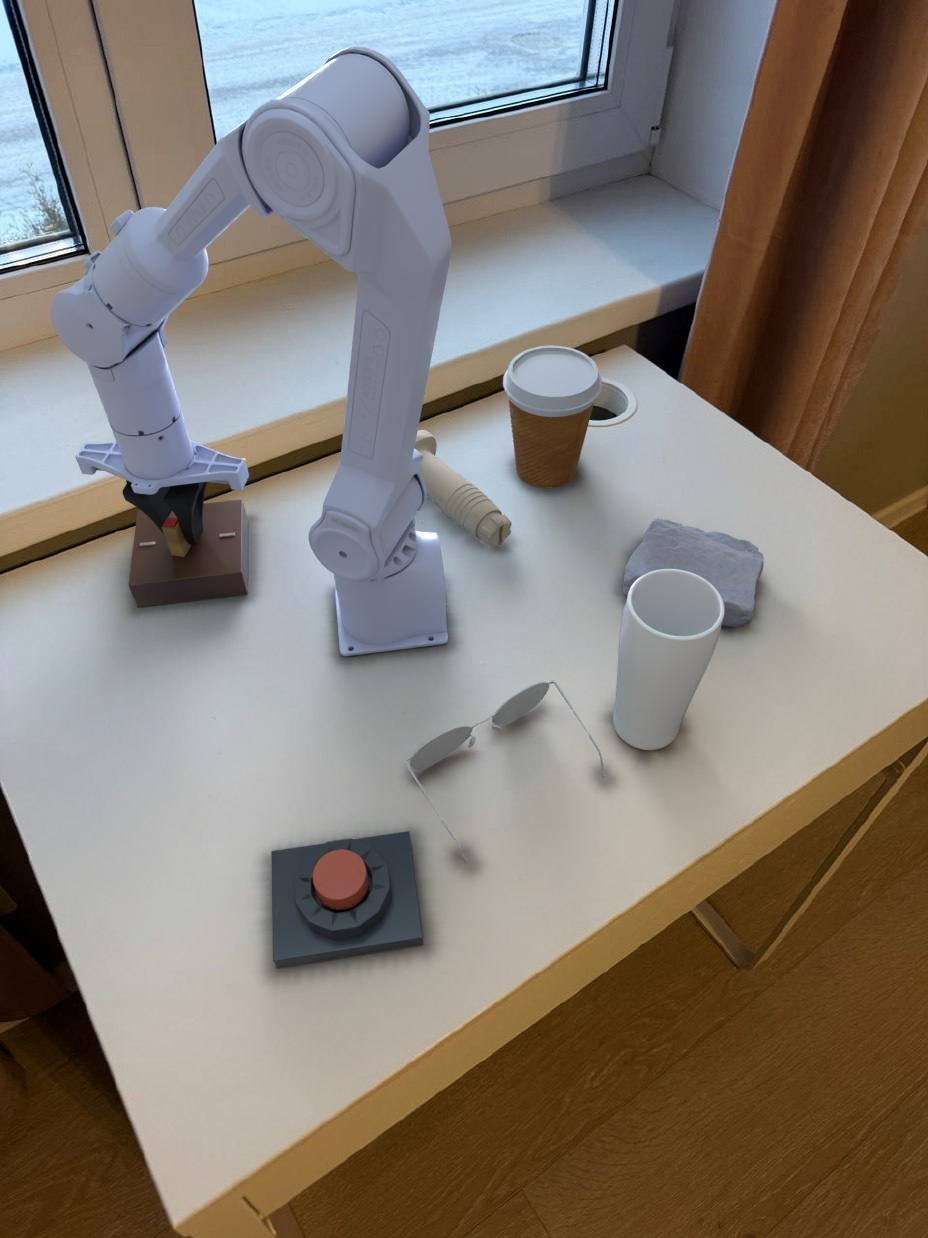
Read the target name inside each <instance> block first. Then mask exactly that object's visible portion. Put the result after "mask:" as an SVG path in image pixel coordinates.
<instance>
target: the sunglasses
mask: <svg viewBox="0 0 928 1238" xmlns="http://www.w3.org/2000/svg"><path fill="white" fill-rule="evenodd" d="M551 684H553V685H554V686H555V687H556V688H557V690H558V692H559V693H560V695H561V697H563V700H564V701H565V702H566V703H567V705H568V706H569V708H570V710H571V711H572V713H573V714H574V715H575V717H576V718H577V720H578V722H579V723H580V725H581V726H582V728H583V729H584V730H585V732H586V733H587V735H588V738H589V740H591V742H592V744H593V746H594V747H595V749H596V751H597V752H598V755H599V760H600V767H601V769H600V770H601V776H602V779H604V780H606V775H605V774H606V772H605V768H604V761H603V755H602V752H601V750H600V748H599V746H598V744H597V743H596V741H595V740H594V738H593V736H592V735H591V734H590V733H589V732H588V730H587V728H586V727H585V726H584V723H583V722H582V720H581V718H580V717H579V716H578V714H577V712H576V711H575V709H574V708H573V706H572V704H571V703H570V701H569V700H568V698H567V696H566V695H565V693H564V692H563V690H562V688H561V687H560V685H559V684H558V683H557V681H555V680H553V679H552V680H550V681H539V682H536V683H533V684H531V685H529V686H527V687H524V688H523V689H521V690H520V691H517V692H516V693H515V694H513V695H512V696H510V697H509V698H508V699H506V700H505V701H504V702H503V703H502V704H501V705H500V706H499V707H498V708H497V709H496V711H495V712H494V713H493V714H491V715H489V716H488V717H486V718H485V719H483V720H481V721H478V722H476V723H474V724H473V725H471V726H470V725H468V724H467V725H458V726H455V727H451V728H450V729H447V730H445V731H443V732H440V733H439V734H437V735H435V736H433V737H432V738H430V739H428V740H427V741H425V743H423V744H422V745H421V746H419V748H417V749H416V750H415V752H414V753H413V754H412V755H409V756H408V757H406V758H405V759H404V766H405V767H406V769H407V771H408V772H409V773H410V775H411V776H412V778H413V780H414V781H415V782H416V784H417V785H418V787H419V789H420V790H421V792H422V793H423V795H424V796H425V798H426V799H427V800H428V802H429V803H430V804H431V807H432V808H433V809H434V811H435V812H436V814H437V815H438V817H439V818H440V820H441V823H442V824H443V826H444V827H445V829H446V830H447V831H448V833H449V835H450V836H451V838H452V839H453V841H454V842H455V843H456V845H457V846H458V849H459V850H460V852H461V855H462V857H463V859H464V860H465V861H466V862H468V860H467V858H466V856H465V854H464V851H463V850H462V848H461V846H460V843H459V842H458V840H457V838H456V837H455V835H454V834H453V832H452V831H451V829H450V828H449V827H448V825H447V823H446V821H445V820H444V819H443V818H442V817H441V815H440V813H439V812H438V810H437V808H436V807H435V805H434V804H433V801H431V799H430V797H429V796H428V793H427V792H426V790H425V788H423V786H422V784H421V783H420V781H419V780H418V778H417V777H416V775H415V772H413V770H414V771H421V770H425V769H427V768H429V767H432V766H434V765H435V764H438V763H439V762H441V761H442V760H444V759H445V758H447V757H449V756H450V755H451V754H452V753H454V752H455V751H456V750H457V749H458V748H460V747H461V746H462V745H463V744H464V743H466V741H467V740H468V739H469V743H468V745H467V748H468V749H471V748H472V747H473V746H474V745H475V743H476V741H477V738H478V735H477V734H475V735H474V736H473V735H472V733H473V728H475V727H477V726H479V725H481V724H484V723H485V722H487V721H489V720H490V719H491V722H492V723H491V724H493V725H491V729H493V730H494V731H497V732H501V731H502V727H501V726H503V725H507V724H509V723H511V722H514V721H516V720H519V719H520V718H521V717H523V716H525V715H526V714H527V713H529V712H531V711H532V710H533V709H534V708H535V707H537V706H538V705H539V704H540V703H541V701H542V700H543V699H544V698H545V696H546V695H547V693H548V691H549V689H550V685H551ZM470 737H471V738H470ZM408 762H409V763H408Z"/></svg>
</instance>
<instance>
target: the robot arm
mask: <svg viewBox="0 0 928 1238" xmlns="http://www.w3.org/2000/svg"><path fill="white" fill-rule="evenodd" d="M430 118H431V114H430V111H429V110H428V108H427V107H426V105H425V104H424V103H423V101H422V100H421V98H420V97H419V96H418V95H417V92H416V91H415V89H414V88H413V87H412V86H411V84H410V83H409V81H408V80H407V78H406V77H405V76H404V74H403V73H402V72H401V71H400V69H399V68H398V67H397V66H396V64H394V63H393V62H392V60H390V59H389V58H388V57H386V56H385V55H384V54H382V53H381V52H379V51H377V50H375V49H371V48H369V47H365V46H364V47H363V46H349V47H346V48H345V47H344V48H342V49H341V50H338V51H337V52H335V53H334V54H333V55H331V56H330V57H328V58H327V59H326V61H325V63H324V64H323V66H322V67H320V68H319V69H317V70H316V71H314V72H313V73H311V74H310V75H308V76H307V77H306V78H304V79H303V80H301V81H299V82H298V83H297V84H295V85H294V86H292V87H291V88H289V89H288V90H287V91H285V92H284V93H282V94H281V95H279V96H278V97H277V98H275V99H273V98H272V99H269V100H268V101H266V102H265V103H263V104H261V105H260V106H258V107H257V108H256V109H255V110H254V111H253V112H252V114H251V115H250V116H249V118H246V120H244V121H243V122H241V123H240V124H238V125H237V126H236V127H234V128H233V129H231V130H230V131H229V132H228V133H226V134H224V135H223V136H222V137H220V138H219V139H218V141H217V142H216V144H215V145H214V146H213V147H212V149H211V150H210V151H209V152H208V154H207V155H206V157H204V159H203V160H202V161H201V163H200V164H199V165H198V167H197V168H196V170H195V171H194V173H193V174H192V175H191V176H190V177H189V178H188V180H187V182H186V183H185V184H183V185H184V186H182V188H181V189H180V190H179V192H178V193H177V194H176V196H175V197H174V198H173V200H172V201H171V202H170V204H169V205H168V206H167V207H166V208H163V207H157V206H150V207H144V208H141V209H139V210H137V211H135V212H133V210H131V209H126V210H125V211H124V212H123V213H121V214H120V215H118V216H117V217H116V218H115V219H114V220H113V222H112V223H111V224H110V225H109V230H110V231H111V232H112V233H113V235H115V236H114V237H113V238H112V239H111V241H110V242H109V243H108V245H107V246H106V247H105V248H104V250H103V251H100V250H96V251H94V252H92V254H90V255H89V256H87V257H86V259H85V260H84V261H83V268H84V269H85V270H86V273H85V275H84V276H83V277H81V278H80V279H78V280H77V281H76V282H75V283H74V284H72V285H71V286H70V287H68V288H64V289H62V290H59V291H57V292H56V293H55V294H54V296H53V302H52V303H51V306H50V310H49V311H50V312H49V313H50V320H51V323H52V327H53V328H54V331H55V333H56V334H57V336H58V338H59V339H60V340H61V342H62V343H63V344H64V346H65V347H66V348H67V349H68V350H69V351H70V352H71V353H72V354H73V355H75V357H77V358H78V359H80V360H81V361H83V362H85V363H86V365H87V369H88V371H89V374H90V376H91V378H92V382H93V385H94V387H95V389H96V392H97V394H98V395H97V396H98V397H99V400H100V402H101V405H102V407H103V410H104V412H105V416H106V418H107V421H108V424H109V426H110V428H111V429H110V430H111V431H112V434H113V437H114V440H115V441H110V442H97V443H95V442H85V443H83V445H82V446H81V448H80V449H79V451H78V452H77V453H76V455H75V460H76V463H77V464H78V467H79V470H80V473H81V474H82V475H90V476H93V475H95V474H96V472H97V471H99V472H105V473H108V474H111V475H113V476H115V477H118V478H120V479H123V480H125V483H126V484H125V486H124V487H123V489H122V491H121V492H122V497H123V498H124V500H125V501H126V502H128V503H129V504H131V505H132V506H134V507H136V508H137V509H139V511H140V510H141V511H142V512H144V513H145V514H146V515H147V516H148V517H149V518H150V519H151V520H152V521H153V522H154V523H155V524H156V525H157V527H158V528H159V529H160V530H161V532H162V533H163V530H162V526H163V524H164V522H165V521H166V519H167V517H168V516H169V515H170V513H171V511H173V512H174V514H175V516H176V517H177V519H178V521H179V523H180V525H181V528H182V531H183V534H184V537H185V539H186V541H187V542H188V544H191V545H196V544H197V543H198V541H199V539H200V537H201V535H202V533H203V504H204V503H205V496H206V491H207V487H208V484H209V483H216V484H225V485H229V487H230V489H231V490H234V491H235V490H236V491H243V489H244V487H245V486H246V484H247V481H248V480H249V478H250V473H249V469H248V465H247V460H246V458H242V457H235V456H231V455H228V454H225V453H222V452H220V451H217V450H215V449H212V448H209V447H208V446H204V445H202V444H199V443H197V442H195V441H191V437H190V434H189V431H188V427H187V424H186V421H185V418H184V413H183V410H182V407H181V404H180V401H179V398H178V394H177V391H176V388H175V387H176V386H175V384H174V381H173V377H172V373H171V371H170V368H169V367H170V366H169V364H168V361H167V357H166V353H165V349H164V348H165V347H166V345H167V344H168V342H167V338H166V335H165V331H164V328H165V325H166V324H167V322H168V319H169V316H170V314H172V313H173V311H174V312H175V310H176V309H177V308H178V307H180V304H182V303H183V302H184V301H185V300H186V299H187V298H188V297H189V296H190V295H191V294H192V293H193V292H194V291H196V289H198V287H200V286H201V284H203V283H204V281H205V280H206V277H207V276H208V272H209V268H210V267H209V266H210V265H209V264H210V263H209V255H208V251H207V247H209V246H210V245H211V244H212V243H213V242H214V241H215V240H216V239H217V238H218V237H219V236H220V235H222V234H223V232H225V231H226V230H227V229H228V228H229V227H230V226H231V225H232V224H233V223H234V222H235V221H237V219H239V218H240V217H241V216H242V215H243V214H244V213H245V212H246V211H248V209H249V208H250V207H251V208H252V209H253V210H254V211H255V212H256V214H258V216H260V217H262V218H268V217H270V216H271V215H272V214H273V213H276V215H278V216H279V218H281V219H282V220H284V221H285V222H286V223H287V224H288V225H290V226H291V227H292V228H293V229H295V231H297V232H298V233H300V234H301V235H302V236H303V237H304V238H306V240H308V241H310V242H311V244H313V245H314V246H315V247H317V248H318V249H320V250H321V251H322V252H323V253H324V254H326V255H327V256H328V257H330V258H331V259H332V260H333V261H335V262H336V263H337V264H338V265H340V266H341V268H343V269H344V270H345V271H346V272H349V273H357V275H358V282H357V284H358V285H357V291H356V303H355V314H354V323H353V333H352V342H351V352H350V361H349V371H348V381H347V382H348V383H347V391H346V401H345V411H344V412H345V413H344V420H343V431H342V439H341V450H340V460H339V465H338V467H337V470H336V472H335V475H334V477H333V479H332V481H331V484H330V486H329V488H328V491H327V493H326V496H325V498H324V500H323V502H322V512H321V516H320V517H319V518H318V519H317V520H316V521H315V522H314V523H313V524H312V525H311V527H310V529H309V532H308V543H309V547H310V549H311V551H312V552H313V555H314V556H315V557H316V559H317V560H318V562H319V563H320V564H321V565H322V566H323V567H324V568H325V569H326V570H328V571H329V572H331V574H333V577H334V583H335V590H334V599H335V609H336V610H335V612H336V623H337V635H338V645H339V646H338V648H339V653H340V655H341V656H342V657H352V656H360V655H367V654H375V653H382V652H383V653H384V652H392V651H399V650H406V649H415V648H422V647H430V646H439V645H444V644H447V643H448V642H449V634H448V622H447V621H448V620H447V619H448V617H447V604H448V594H447V587H446V578H445V569H444V560H443V554H442V549H441V548H442V547H441V541H440V538H439V534H438V532H433V531H423V530H416V515H417V513H418V512H419V511H421V509H422V508H423V506H424V505H425V503H426V501H427V498H428V495H427V487H426V483H425V481H424V478H423V475H422V461H423V455H422V454H421V453H420V452H419V451H417V450H416V449H415V448H414V447H415V442H416V436H417V431H418V430H419V425H420V421H421V414H422V409H423V404H424V399H425V393H426V388H427V383H428V378H429V372H430V367H431V362H432V357H433V352H434V346H435V341H436V335H437V331H438V325H439V320H440V314H441V309H442V305H443V299H444V294H445V288H446V283H447V277H448V272H449V267H450V262H451V256H452V236H451V232H450V227H449V224H448V220H447V216H446V212H445V208H444V205H443V201H442V197H441V194H440V189H439V186H438V182H437V178H436V175H435V171H434V168H433V164H432V163H433V162H432V159H431V156H430V152H429V142H430V120H431V119H430ZM163 534H164V533H163Z"/></svg>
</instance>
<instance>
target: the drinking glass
mask: <svg viewBox="0 0 928 1238" xmlns="http://www.w3.org/2000/svg"><path fill="white" fill-rule="evenodd" d="M724 611H725V610H724V603H723V600H722V597H721V595H720V594H719V592H718V591H717V589H716V588H715V587H714V586H713V585H712V584H711V583H709V582H708V581H707V580H705V579H704V578H702V577H700V576H698V575H696V574H694V573H691V572H688V571H684V570H679V569H660V570H655V571H652V572H649V573H647V574H644V575H643V576H641V577H640V578H638V579H637V580H636V581H635V582H634V583H633V585H632V586H631V588H630V590H629V592H628V596H627V597H626V600H625V604H624V608H623V612H622V618H621V622H620V629H619V636H618V649H617V650H618V651H617V669H616V686H615V687H616V688H615V698H614V699H615V701H614V708H613V712H612V724H613V729H614V730H615V732H616V734H617V735H618V736H619V738H620V739H621V740H622V741H624V742H625V743H626V744H627V745H628V746H630V747H633V748H636V749H639V750H642V751H656V750H660V749H663V748H665V747H667V746H669V745H670V744H671V743H672V742H673V741H675V739H676V738H677V736H678V734H679V731H680V728H681V725H682V722H683V720H684V717H685V716H686V713H687V711H688V709H689V706H690V704H691V702H692V700H693V698H694V696H695V693H696V692H697V689H698V687H699V685H700V683H701V681H702V679H703V677H704V675H705V673H706V671H707V669H708V667H709V664H710V662H711V661H712V657H713V654H714V652H715V649H716V647H717V643H718V641H719V640H718V639H719V637H720V633H721V629H722V626H723V625H722V621H723V617H724Z"/></svg>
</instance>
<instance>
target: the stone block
mask: <svg viewBox="0 0 928 1238" xmlns="http://www.w3.org/2000/svg"><path fill="white" fill-rule="evenodd" d="M640 541H641V542H640V543H639V545H638V546H637V547H636V549H635V550H634V551H633V552H632V554H631V556H630V558H629V560H628V561H627V564H626V566H625V569H624V574H623V583H622V585H623V586H622V593H623V595H624V596H625V597H626V598H627V596H628V592H629V590H630V588H631V586H632V585H633V583H634V582H635V581H636V580H637V579H638V578H640V577H641V576H643V575H644V574H647V573H649V572H652V571H655V570H660V569H679V570H684V571H688V572H691V573H694V574H696V575H698V576H700V577H702V578H704V579H705V580H707V581H708V582H709V583H711V584H712V585H713V586H714V587H715V588H716V589H717V591H718V592H719V594H720V595H721V597H722V600H723V603H724V610H725V611H724V617H723V621H722V625H721V626H724V627H728V628H743V627H745V626H747V625H749V624H750V623H751V622H752V620H753V617H754V615H753V614H754V609H755V601H756V600H755V594H756V588H757V583H758V581H759V579H760V578H761V576H762V573H763V571H764V565H765V563H764V554H763V553H762V552H761V551H759V548H758V546H757V545H755V544H753V542H751V541H749V540H747V539H740V538H736V537H733V536H732V535H730V534H728V533H724V532H718V531H715V530H714V531H713V530H712V531H711V530H708V531H705V530H704V529H700V528H697V527H693V526H689V525H683V524H680V523H679V522H676V521H672V520H668V519H663V518H656V519H653V520H652V521H651V522H650V524H649V526H648V527H647V529H646V531H645V533H644V535H643V538H642V540H640Z"/></svg>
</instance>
